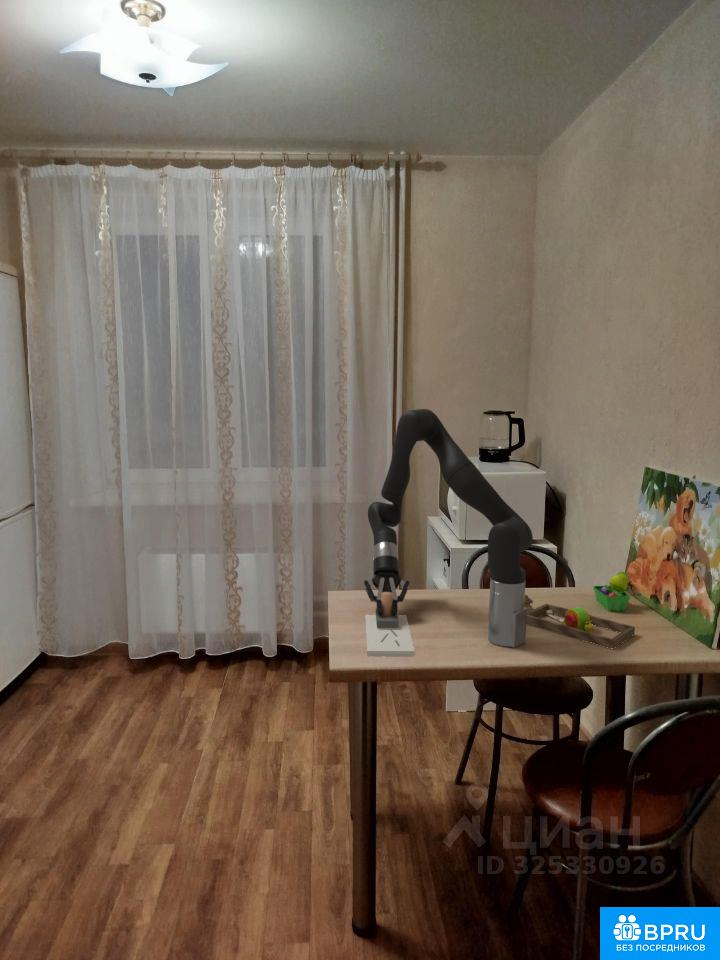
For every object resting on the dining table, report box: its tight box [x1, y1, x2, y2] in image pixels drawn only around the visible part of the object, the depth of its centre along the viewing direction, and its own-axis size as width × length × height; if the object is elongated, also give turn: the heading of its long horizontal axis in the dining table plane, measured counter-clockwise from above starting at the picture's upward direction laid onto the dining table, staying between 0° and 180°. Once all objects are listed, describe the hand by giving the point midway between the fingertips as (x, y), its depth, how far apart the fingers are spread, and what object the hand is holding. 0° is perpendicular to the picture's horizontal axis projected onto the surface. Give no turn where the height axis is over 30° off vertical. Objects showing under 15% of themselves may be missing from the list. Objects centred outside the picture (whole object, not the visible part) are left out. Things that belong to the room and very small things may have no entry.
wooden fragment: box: [524, 594, 535, 612], centre depth 209 cm, size 26×11×1 cm, turn 172°
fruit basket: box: [592, 571, 631, 612], centre depth 204 cm, size 11×9×11 cm
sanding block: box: [375, 592, 399, 629], centre depth 185 cm, size 10×6×8 cm, turn 1°
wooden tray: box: [526, 603, 636, 650], centre depth 186 cm, size 27×14×2 cm, turn 46°
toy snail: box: [544, 606, 595, 633], centre depth 189 cm, size 6×19×7 cm, turn 21°
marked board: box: [365, 614, 415, 658], centre depth 179 cm, size 26×12×2 cm, turn 1°
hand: (387, 614), depth 183 cm, fingers closed on sanding block, 3 cm apart
